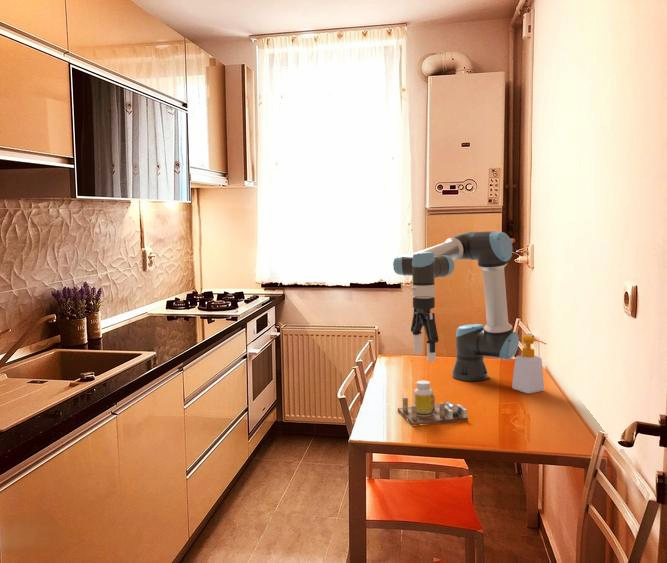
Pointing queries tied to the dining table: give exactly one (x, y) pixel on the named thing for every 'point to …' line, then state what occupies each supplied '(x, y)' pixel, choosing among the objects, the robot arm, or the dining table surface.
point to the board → (439, 414)
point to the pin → (453, 408)
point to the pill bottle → (423, 399)
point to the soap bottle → (528, 369)
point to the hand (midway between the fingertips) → (424, 357)
